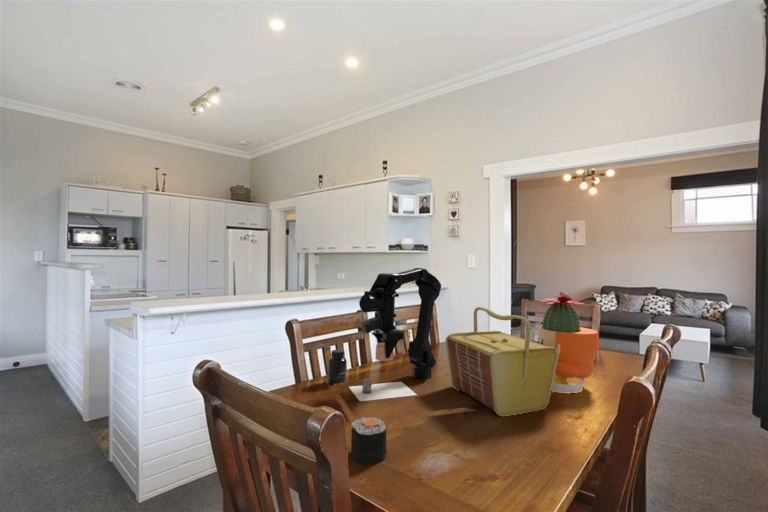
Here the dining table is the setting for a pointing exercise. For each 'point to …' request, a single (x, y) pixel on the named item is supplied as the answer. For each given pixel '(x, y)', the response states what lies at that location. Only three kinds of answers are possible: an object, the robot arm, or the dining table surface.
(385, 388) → the off-white board
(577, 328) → the potted cactus
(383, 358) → the terracotta cap
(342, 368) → the supplement bottle
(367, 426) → the sushi
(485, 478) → the dining table surface
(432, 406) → the dining table surface
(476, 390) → the picnic basket
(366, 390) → the metal post
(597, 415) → the dining table surface
